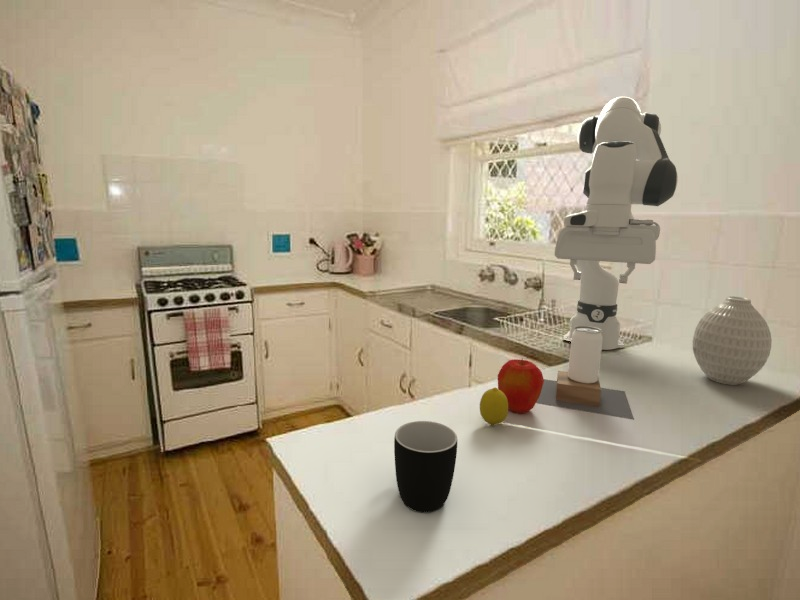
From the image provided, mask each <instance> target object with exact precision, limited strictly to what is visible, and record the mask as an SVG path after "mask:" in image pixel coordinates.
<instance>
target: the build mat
mask: <svg viewBox="0 0 800 600" xmlns="http://www.w3.org/2000/svg"><path fill="white" fill-rule="evenodd" d="M543 379H544V383H543V386H542V390H541V394H540V396H539V398H538V400H537V402H536V404H538V405H545V406H552V407H555V408H556V407H558V408H563V409H569V410H575V411H580V412H588V413H594V414H599V415H603V416H604V415H605V416H610V417H618V418H621V419H622V418H623V419H628V420H634V419H635V418H634V415H633V411H632V409H631V406H630V403H629V399H628V397H627V394H626V391H624V390H619V389H612V388H606V387H605V388H604V387H601V394H600V402H599V407H595V406H589V405H583V404H577V403H571V402H565V401H559V400H556V386H557V380H551V379H545V378H543Z"/></svg>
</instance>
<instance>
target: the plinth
mask: <svg viewBox="0 0 800 600" xmlns="http://www.w3.org/2000/svg"><path fill="white" fill-rule="evenodd" d="M556 381H557V386H556V400H559V401H565V402H571V403H577V404H583V405H589V406H595V407H599V402H600V394H601V388H602V387H601V383H600V378H599V376H598V380H597V381H596V382H595V383H593V384H583V383H578V382H575V381H572V380H571V379H570V378H569V377H568V371H564V370H558V371H557V378H556Z"/></svg>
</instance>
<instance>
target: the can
mask: <svg viewBox="0 0 800 600" xmlns="http://www.w3.org/2000/svg"><path fill="white" fill-rule="evenodd" d="M601 332H602V331H601V330H600V329H597V328H594V327H587V326H578V327H575V331H574V332H573V334H572V340H571V343H570V348H569V349H570V351H569V359H568V369H567V372H568V377H569V378H570V379H571V380H572V381H575V382H578V383H583V384H593V383H595V382H596V381H597V380H598V377H599V372H600V371H599V370H600V365H601V356H602V350H601V349H602V340H603V337H602V334H601Z"/></svg>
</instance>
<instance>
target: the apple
mask: <svg viewBox="0 0 800 600" xmlns="http://www.w3.org/2000/svg"><path fill="white" fill-rule="evenodd" d="M544 379H545V378H544V376H543V372H542V370H541V369H540V368H539V367H538V366H537V365H536V364H535V363H533V362H532V361H529V360H527V359H526V360H525V359H524V358H523V357H522V358H521V359H517V358H514V359H513V358H512V359H509V360H508V361H506V362H505V363H504V364H503V365H502V366H501V368H500V370H499V372H498V373H497V389H498V390H500V391H502V392H503V393H504V394H505V396H506V397H507V400H508V410H510V411H511V412H513V413H516V414H526V413H528V412H530V411H531V410H533V409H534V408H535V406H536V404H537V403H536V402H537V400H538V398H539V396H540V394H541V390H542V386H543V383H544Z"/></svg>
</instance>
